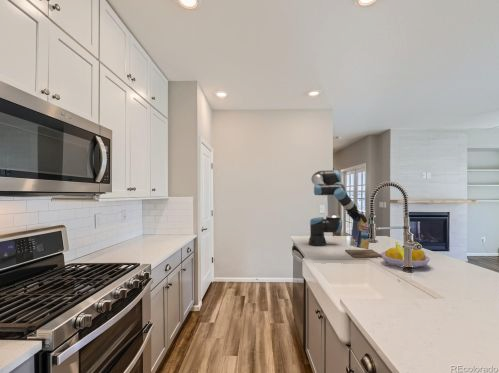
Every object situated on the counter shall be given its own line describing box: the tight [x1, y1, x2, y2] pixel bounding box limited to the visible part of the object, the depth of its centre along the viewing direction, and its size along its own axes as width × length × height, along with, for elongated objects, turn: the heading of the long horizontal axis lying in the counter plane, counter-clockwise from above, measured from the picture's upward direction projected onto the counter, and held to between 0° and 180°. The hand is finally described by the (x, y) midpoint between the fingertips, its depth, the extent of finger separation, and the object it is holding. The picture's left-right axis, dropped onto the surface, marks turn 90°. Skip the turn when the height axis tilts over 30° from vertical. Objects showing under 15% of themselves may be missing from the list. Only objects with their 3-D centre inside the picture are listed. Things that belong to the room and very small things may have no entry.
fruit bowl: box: [379, 241, 431, 268], centre depth 165 cm, size 28×27×11 cm
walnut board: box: [344, 249, 382, 259], centre depth 191 cm, size 20×20×1 cm
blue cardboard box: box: [349, 217, 371, 250], centre depth 191 cm, size 7×11×22 cm, turn 114°
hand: (366, 227), depth 193 cm, fingers closed on blue cardboard box, 2 cm apart
